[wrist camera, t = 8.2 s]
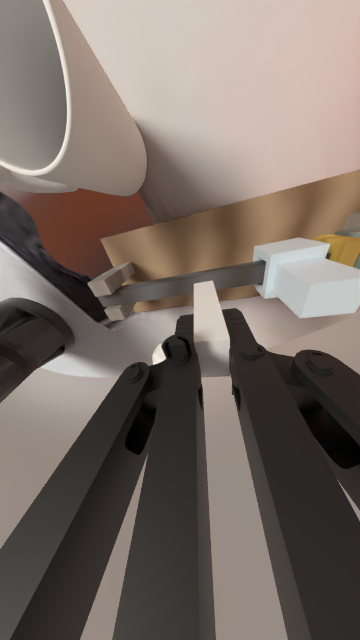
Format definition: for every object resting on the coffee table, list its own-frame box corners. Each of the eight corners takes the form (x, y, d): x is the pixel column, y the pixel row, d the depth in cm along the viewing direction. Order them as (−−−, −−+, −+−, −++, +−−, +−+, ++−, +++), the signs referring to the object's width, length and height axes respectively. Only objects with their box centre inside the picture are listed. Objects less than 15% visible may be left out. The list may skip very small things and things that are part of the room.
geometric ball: (183, 339, 34) (197, 370, 30) (153, 353, 34) (164, 386, 30) (178, 328, 27) (196, 367, 24) (140, 345, 27) (153, 387, 23)
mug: (121, 79, 12) (-169, -460, 2) (162, 175, 15) (105, 106, 6) (55, 162, 16) (-173, 72, 6) (100, 226, 19) (0, 235, 9)
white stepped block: (250, 283, 17) (288, 328, 10) (254, 246, 14) (305, 272, 8) (288, 277, 16) (357, 322, 9) (298, 237, 13) (400, 257, 7)
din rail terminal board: (137, 309, 26) (115, 342, 19) (105, 238, 20) (53, 249, 12) (338, 280, 20) (416, 315, 13) (393, 161, 13) (621, 95, 6)
